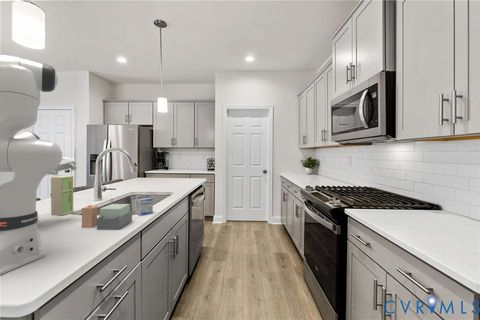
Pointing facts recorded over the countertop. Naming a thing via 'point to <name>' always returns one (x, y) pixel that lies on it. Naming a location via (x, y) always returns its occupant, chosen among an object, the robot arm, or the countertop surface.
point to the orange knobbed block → (89, 216)
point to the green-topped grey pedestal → (114, 217)
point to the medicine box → (144, 206)
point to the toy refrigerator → (61, 195)
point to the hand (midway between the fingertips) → (66, 170)
